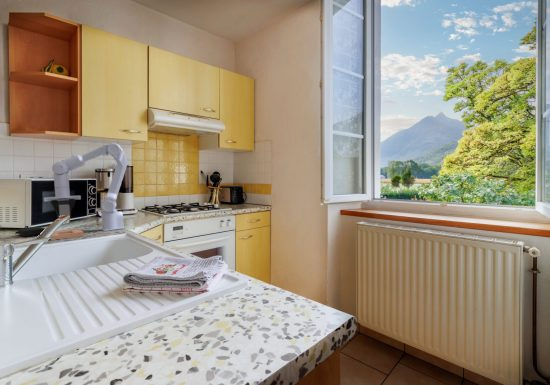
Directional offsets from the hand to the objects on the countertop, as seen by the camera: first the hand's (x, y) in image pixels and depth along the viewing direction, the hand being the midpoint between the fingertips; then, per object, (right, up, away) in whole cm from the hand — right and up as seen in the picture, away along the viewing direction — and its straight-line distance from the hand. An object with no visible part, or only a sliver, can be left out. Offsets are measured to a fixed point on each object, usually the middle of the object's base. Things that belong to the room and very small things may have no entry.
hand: (64, 215), depth 144 cm
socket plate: (+7, -9, -9) cm, 14 cm away
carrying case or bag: (-9, -8, -6) cm, 13 cm away
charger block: (0, -2, 0) cm, 2 cm away
